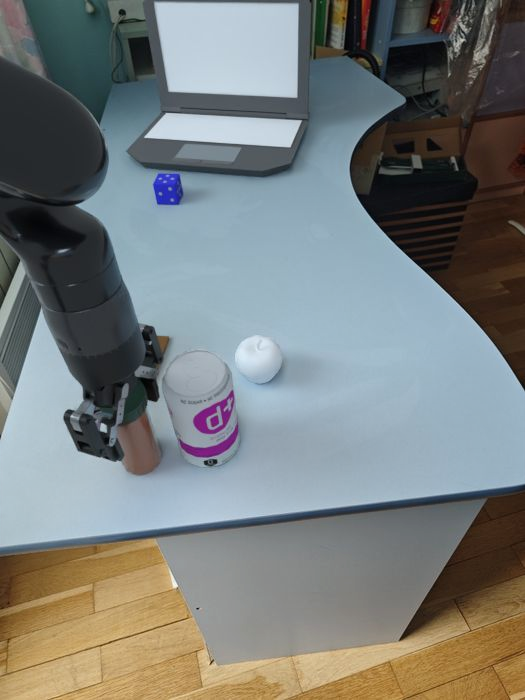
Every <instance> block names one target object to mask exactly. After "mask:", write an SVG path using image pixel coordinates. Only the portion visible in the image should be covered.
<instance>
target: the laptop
mask: <svg viewBox="0 0 525 700" xmlns="http://www.w3.org/2000/svg"><path fill="white" fill-rule="evenodd" d="M141 5H142V9H143V14H144V20H145V25H146V31H147V37H148V42H149V47H150V53H151V58H152V64H153V69H154V76H155V80H156V86H157V91H158V97H159V98H158V99H159V103H160V108H159V109H160V114H158V115H157V117H155V118H154V120H153V121H152V122H151V123H149V125H148V126H147V128H145V130H144V131H143V132H142V133H141V134H140V135H139V136H138V137H137V138H136V139H135V141H133V142H132V144H131V145H130V146H129V147H128V148H127V149H126V150H125V153H127V154H128V155H129V156H130V157H131V158H133V159H134V161H136V162H137V163H138V164H140V165H141V167H143V168H145V169H155V170H156V169H157V170H169V171H182V172H192V173H193V172H194V173H205V174H206V173H209V174H219V175H231V176H232V175H233V176H246V177H257V178H265V177H269V176H272V175H275V174H279V173H283V172H285V171H286V170H287V169H288V168H289V167H290V165H291V164H292V162H293V160H294V157H295V154H296V152H297V149H298V147H299V145H300V143H301V140H302V138H303V135H304V133H305V130H306V128H307V126H308V123H309V121H310V112H309V104H310V99H309V98H310V69H311V38H312V37H311V35H312V34H311V33H312V8H313V7H312V2H311V1H310V0H143V1H142V4H141Z"/></svg>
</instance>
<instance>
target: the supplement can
mask: <svg viewBox="0 0 525 700" xmlns="http://www.w3.org/2000/svg"><path fill="white" fill-rule="evenodd" d="M233 379H234V378H233V372H232V370H231V369H230V367H229V365H228V363H227V362H225V361H224V360H223V358H222V357H221V356H219V355H218V354H217V353H216V352H214V351H211V350H207V349H197V348H196V349H191V350H187V351H186V350H185V351H184V352H182V353H180V354H177V355H176V356H175V357H173V359H172V360H170V361H169V362H168V364H167V366H166V368H165V369H164V374H163V376H162V379H161V390H162V394H163V398H164V400H165V404H166V407H167V410H168V414H169V417H170V420H171V424H172V427H173V431H174V434H175V437H176V441H177V444H178V447H179V450H180V452H181V453H180V454H181V455H182V457H183V458H184V459H185V460H186V461H187V462H188V463H189V464H192V465H193V466H196V467H198V468H213V467H217V466H221V465H224V464H225V463H226V462H229V461H230V460H231V459H232V458H233V456H234V455H235V454H236V453H237V452H238V449H239V446H240V443H241V438H240V437H241V436H240V435H241V433H240V426H239V419H238V412H237V411H238V410H237V403H236V396H235V395H236V394H235V389H234V388H235V387H234V380H233Z"/></svg>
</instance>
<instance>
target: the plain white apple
mask: <svg viewBox="0 0 525 700" xmlns="http://www.w3.org/2000/svg"><path fill="white" fill-rule="evenodd" d="M234 361H235V362H234V363H235V365H236V367H237V370H238V372H240V373H241V374H242V376H243V377H244V378H246V379H247V380H248V381H250V382H251V383H253V384H258V385H259V384H267V383H269V382H270V381H271V380H273V379H274V378H275V376H276V375H277V374H278V372H279V371H280V369H281V368H282V365H283V352H282V349H281V347H280V345H279V343H278V342H277V341H276V340H275V339H273V338H272V337H269V336H265V335H262V334H254V335H252V336H249V337H246V338H244V339H243V340H242V341H241V342H240V343H239V345H238V347H237V348H236V350H235V355H234Z"/></svg>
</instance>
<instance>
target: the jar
mask: <svg viewBox="0 0 525 700" xmlns="http://www.w3.org/2000/svg"><path fill="white" fill-rule="evenodd" d="M103 425H104V427H105V430H107V425H106V424H103ZM155 430H156V429H155V428H154V424H153V421H152V418H151V415H150V412H149V407H148V406H147V407H146V409H145V411H144V413H143V414H142V415H141V417H139V418H138V419H137V420H136V421H134V422H132V423H130V424H128V425H124V426H118V427H117V435H116V438H118V440H119V443H120V445H121V447H122V450H123V452H124V454H125V456H124V458H123V459H122V461H120V462H121V464H122V467H123V468H124V470H126V471H127V472H128V473H129V474H132V475H137V476H143V475H147V474H149V473H151V472H152V471H155V469H156V468H158V465H159V464H160V463H161V461H162V449H161V446H160V443H159V440H158V437H157V433H156V431H155Z"/></svg>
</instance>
